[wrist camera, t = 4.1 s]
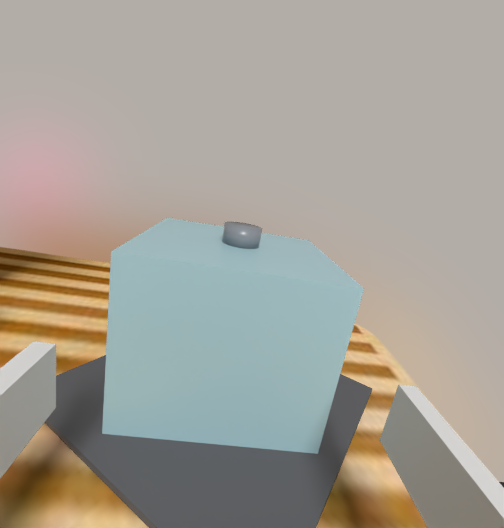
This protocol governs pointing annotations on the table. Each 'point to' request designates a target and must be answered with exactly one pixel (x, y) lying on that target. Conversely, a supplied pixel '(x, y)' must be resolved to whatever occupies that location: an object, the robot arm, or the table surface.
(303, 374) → the cover tub
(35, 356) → the robot arm
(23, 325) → the table surface
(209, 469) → the rubber mat
